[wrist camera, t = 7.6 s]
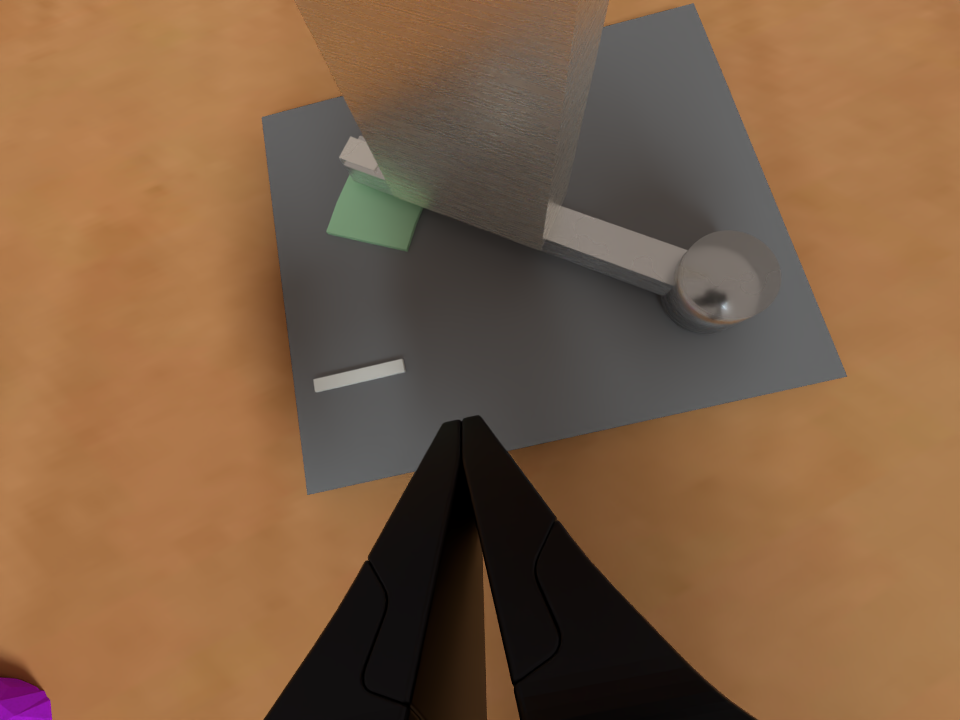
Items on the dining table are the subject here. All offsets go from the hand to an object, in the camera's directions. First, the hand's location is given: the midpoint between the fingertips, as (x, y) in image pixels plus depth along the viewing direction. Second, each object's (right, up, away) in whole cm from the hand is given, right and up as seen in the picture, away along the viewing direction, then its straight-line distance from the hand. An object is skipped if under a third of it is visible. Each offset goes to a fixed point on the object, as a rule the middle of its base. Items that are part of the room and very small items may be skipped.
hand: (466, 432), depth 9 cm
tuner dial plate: (+2, +7, +8) cm, 11 cm away
